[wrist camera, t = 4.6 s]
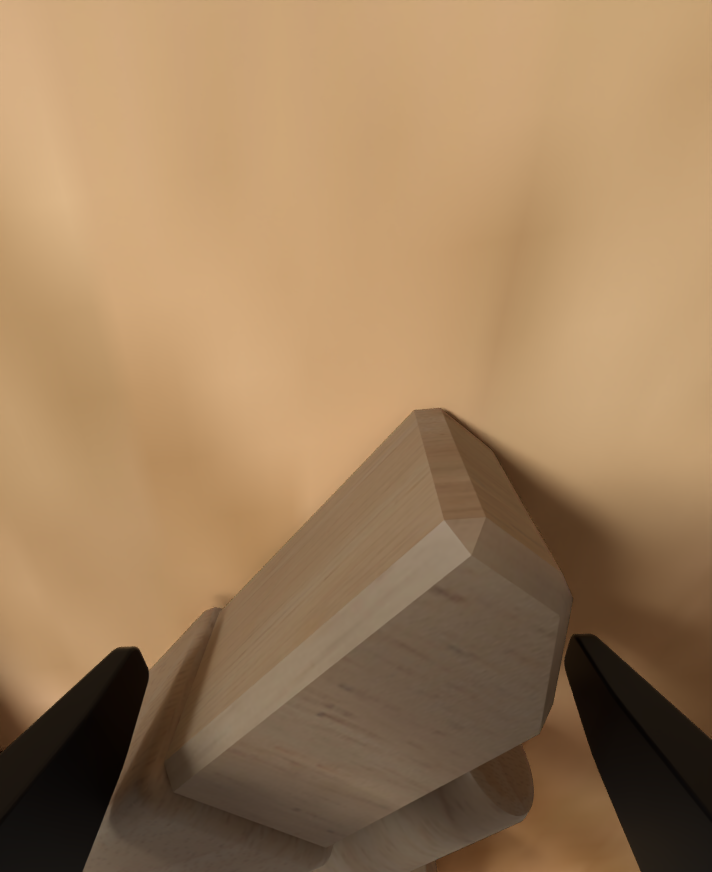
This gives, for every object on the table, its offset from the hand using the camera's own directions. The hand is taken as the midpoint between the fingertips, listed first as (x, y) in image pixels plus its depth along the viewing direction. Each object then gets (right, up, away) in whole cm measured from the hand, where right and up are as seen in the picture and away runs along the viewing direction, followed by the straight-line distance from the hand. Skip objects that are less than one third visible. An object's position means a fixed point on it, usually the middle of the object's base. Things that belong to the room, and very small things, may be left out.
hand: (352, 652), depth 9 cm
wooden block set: (+2, -5, +6) cm, 8 cm away
